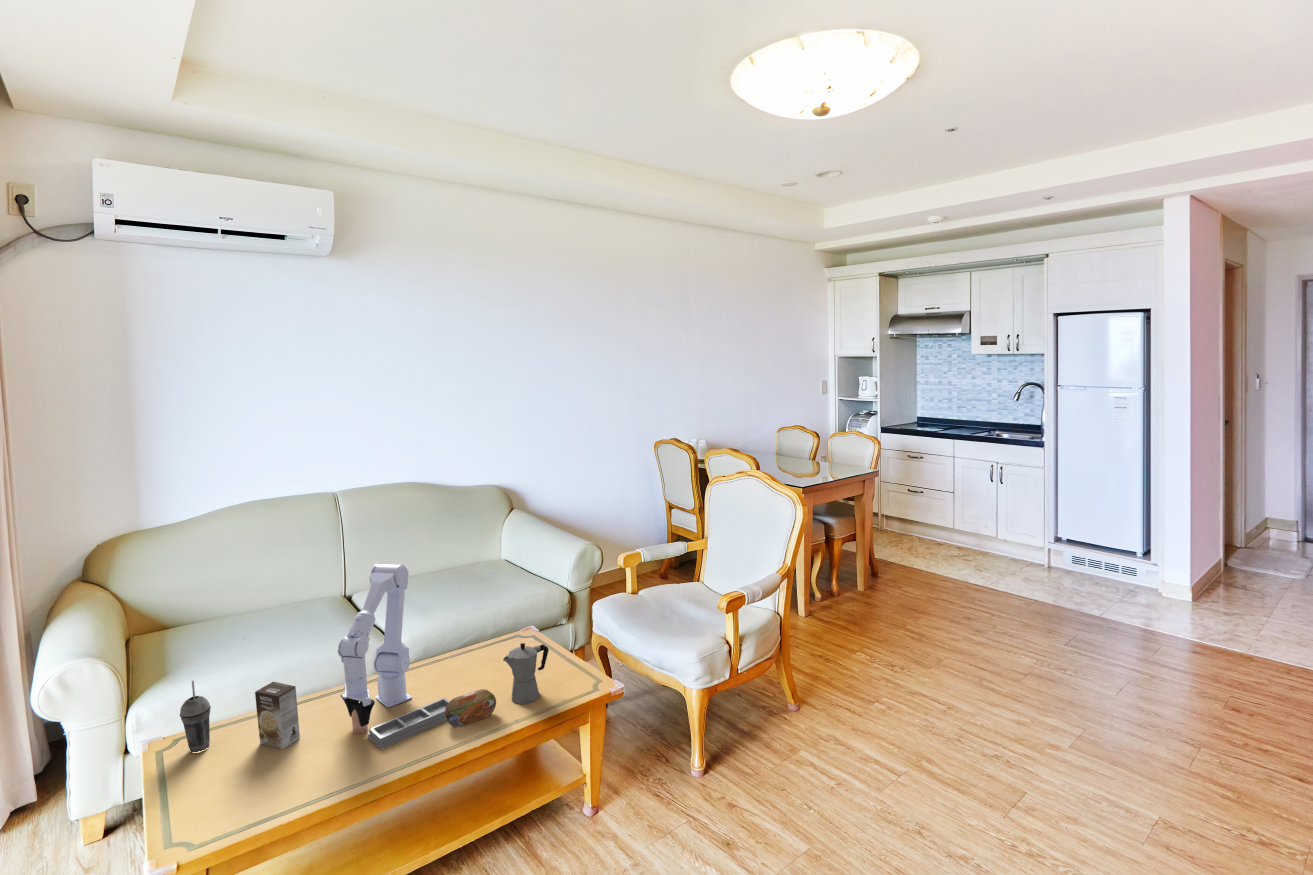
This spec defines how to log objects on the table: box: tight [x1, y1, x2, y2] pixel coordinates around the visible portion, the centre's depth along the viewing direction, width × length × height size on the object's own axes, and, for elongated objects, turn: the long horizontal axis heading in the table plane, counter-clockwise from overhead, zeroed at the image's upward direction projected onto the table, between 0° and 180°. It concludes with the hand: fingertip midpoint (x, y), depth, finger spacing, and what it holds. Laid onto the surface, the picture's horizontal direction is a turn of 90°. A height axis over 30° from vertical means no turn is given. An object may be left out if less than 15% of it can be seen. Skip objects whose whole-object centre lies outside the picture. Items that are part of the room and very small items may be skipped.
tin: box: [445, 688, 497, 728], centre depth 200 cm, size 15×3×8 cm, turn 123°
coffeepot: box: [503, 642, 550, 705], centre depth 213 cm, size 15×9×18 cm, turn 125°
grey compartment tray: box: [367, 697, 451, 750], centre depth 198 cm, size 9×24×3 cm, turn 136°
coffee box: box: [254, 681, 301, 750], centre depth 191 cm, size 9×6×16 cm
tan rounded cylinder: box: [351, 709, 369, 735], centre depth 196 cm, size 4×4×7 cm
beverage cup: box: [179, 680, 212, 752], centre depth 188 cm, size 7×7×20 cm
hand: (359, 720), depth 196 cm, fingers open, 7 cm apart
